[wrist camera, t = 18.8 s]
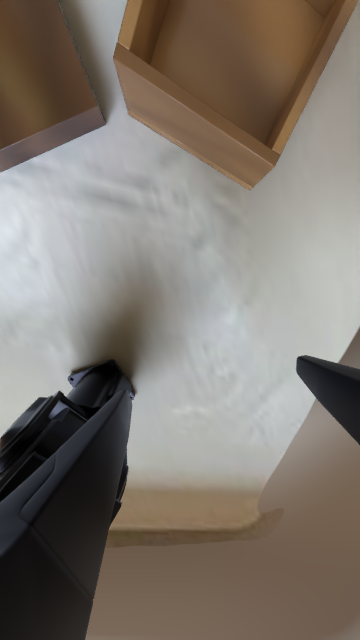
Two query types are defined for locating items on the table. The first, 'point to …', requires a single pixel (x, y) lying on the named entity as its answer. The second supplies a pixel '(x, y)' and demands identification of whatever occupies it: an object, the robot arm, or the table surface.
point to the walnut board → (40, 82)
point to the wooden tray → (226, 73)
